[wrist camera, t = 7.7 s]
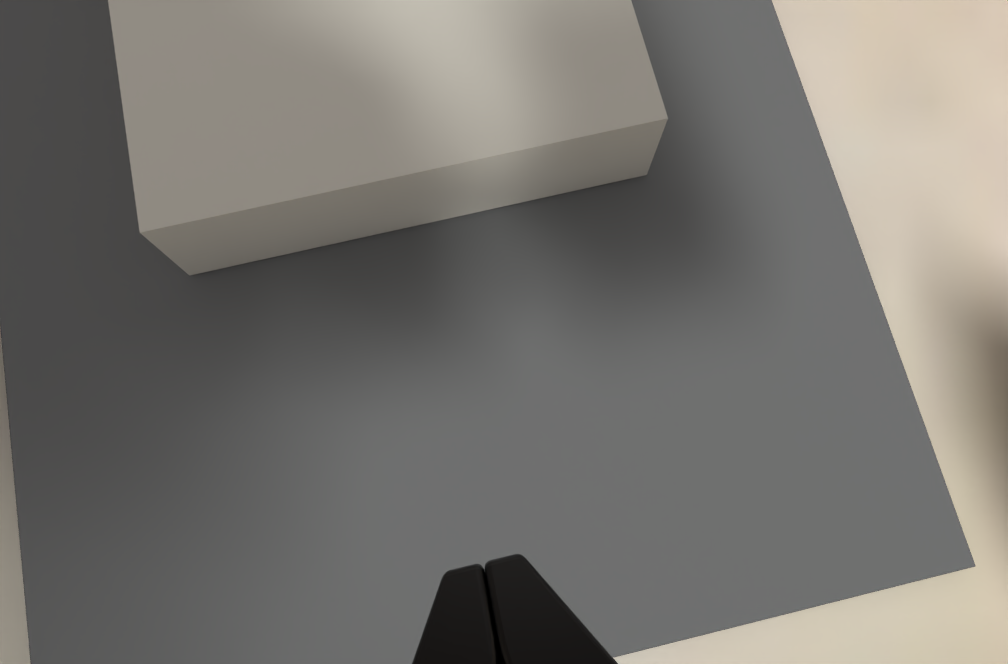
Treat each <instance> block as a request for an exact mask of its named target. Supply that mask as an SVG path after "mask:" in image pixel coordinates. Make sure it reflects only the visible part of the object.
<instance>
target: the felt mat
mask: <svg viewBox="0 0 1008 664" xmlns="http://www.w3.org/2000/svg"><path fill="white" fill-rule="evenodd" d="M631 1H632V4H633V8H634V11H635V14H636V17H637V20H638V24H639V27H640V30H641V33H642V36H643V40H644V43H645V46H646V49H647V52H648V56H649V59H650V62H651V65H652V68H653V71H654V75H655V78H656V81H657V84H658V87H659V91H660V94H661V97H662V100H663V103H664V107H665V110H666V113H667V116H668V120H667V123H666V125H665V128H664V130H663V133H662V136H661V138H660V141H659V144H658V146H657V149H656V152H655V154H654V157H653V160H652V162H651V165H650V168H649V170H648V173H647V175H644V176H640V177H635V178H631V179H626V180H621V181H617V182H612V183H608V184H603V185H599V186H594V187H590V188H585V189H581V190H576V191H571V192H567V193H562V194H558V195H553V196H549V197H544V198H540V199H535V200H531V201H526V202H521V203H517V204H512V205H508V206H503V207H499V208H494V209H490V210H485V211H481V212H476V213H471V214H467V215H462V216H458V217H453V218H449V219H444V220H440V221H435V222H431V223H426V224H421V225H417V226H412V227H408V228H403V229H399V230H394V231H390V232H385V233H381V234H376V235H372V236H367V237H362V238H358V239H353V240H349V241H344V242H340V243H335V244H331V245H326V246H322V247H317V248H312V249H308V250H303V251H299V252H294V253H290V254H285V255H281V256H276V257H272V258H267V259H262V260H258V261H253V262H249V263H244V264H240V265H235V266H231V267H226V268H222V269H217V270H212V271H208V272H203V273H199V274H194V275H190V276H189V275H188V274H187V273H186V272H185V271H184V270H182V269H181V268H180V267H179V266H178V265H177V264H176V263H174V262H173V261H172V260H171V259H170V258H169V257H167V256H166V255H165V254H164V253H163V252H162V251H160V250H159V249H158V248H157V247H156V246H155V245H153V244H152V243H151V242H150V241H149V240H148V239H146V238H145V237H144V236H143V235H142V234H141V233H140V231H139V224H138V217H137V209H136V202H135V195H134V187H133V180H132V173H131V165H130V158H129V151H128V143H127V136H126V129H125V121H124V114H123V107H122V99H121V92H120V85H119V77H118V70H117V63H116V55H115V48H114V41H113V33H112V26H111V19H110V11H109V4H108V0H0V327H1V338H2V349H3V360H4V371H5V382H6V393H7V404H8V415H9V427H10V438H11V449H12V460H13V471H14V482H15V493H16V504H17V515H18V527H19V538H20V549H21V560H22V571H23V582H24V593H25V604H26V615H27V626H28V638H29V649H30V660H31V664H412V662H413V659H414V656H415V653H416V650H417V648H418V645H419V642H420V639H421V636H422V633H423V630H424V627H425V625H426V622H427V619H428V616H429V613H430V610H431V607H432V604H433V602H434V599H435V596H436V593H437V590H438V587H439V584H440V581H441V579H442V577H443V575H444V574H445V573H446V572H447V571H449V570H452V569H456V568H460V567H464V566H468V565H473V564H480V565H482V566H483V568H484V570H485V564H486V563H487V562H488V561H489V560H493V559H497V558H501V557H505V556H509V555H514V554H521V555H523V556H524V557H525V558H526V559H527V560H528V561H529V562H530V563H531V564H532V566H533V567H534V568H535V569H536V570H537V571H538V572H539V574H540V575H541V576H542V577H543V578H544V579H545V580H546V582H547V583H548V584H549V585H550V586H551V587H552V588H553V590H554V591H555V592H556V593H557V594H558V595H559V597H560V598H561V599H562V600H563V601H564V602H565V603H566V605H567V606H568V607H569V608H570V609H571V610H572V611H573V613H574V614H575V615H576V616H577V617H578V618H579V619H580V621H581V622H582V623H583V624H584V625H585V626H586V628H587V629H588V630H589V631H590V632H591V633H592V634H593V636H594V637H595V638H596V639H597V640H598V641H599V642H600V644H601V645H602V646H603V647H604V648H605V649H606V650H607V652H608V653H609V654H610V655H611V656H612V657H617V656H621V655H625V654H629V653H633V652H637V651H641V650H645V649H649V648H653V647H657V646H661V645H665V644H669V643H673V642H677V641H681V640H685V639H689V638H693V637H697V636H701V635H705V634H709V633H713V632H717V631H721V630H725V629H729V628H733V627H736V626H740V625H744V624H748V623H752V622H756V621H760V620H764V619H768V618H772V617H776V616H780V615H784V614H788V613H792V612H796V611H800V610H804V609H808V608H812V607H816V606H820V605H824V604H828V603H832V602H836V601H840V600H844V599H848V598H852V597H856V596H859V595H863V594H867V593H871V592H875V591H879V590H883V589H887V588H891V587H895V586H899V585H903V584H907V583H911V582H915V581H919V580H923V579H927V578H931V577H935V576H939V575H943V574H947V573H951V572H955V571H959V570H963V569H967V568H971V567H975V563H974V561H973V558H972V555H971V552H970V550H969V547H968V544H967V541H966V538H965V536H964V533H963V530H962V527H961V525H960V522H959V519H958V516H957V513H956V511H955V508H954V505H953V502H952V500H951V497H950V494H949V491H948V489H947V486H946V483H945V480H944V477H943V475H942V472H941V469H940V466H939V464H938V461H937V458H936V455H935V452H934V450H933V447H932V444H931V441H930V439H929V436H928V433H927V430H926V427H925V425H924V422H923V419H922V416H921V414H920V411H919V408H918V405H917V403H916V400H915V397H914V394H913V391H912V389H911V386H910V383H909V380H908V378H907V375H906V372H905V369H904V366H903V364H902V361H901V358H900V355H899V353H898V350H897V347H896V344H895V341H894V339H893V336H892V333H891V330H890V328H889V325H888V322H887V319H886V317H885V314H884V311H883V308H882V305H881V303H880V300H879V297H878V294H877V292H876V289H875V286H874V283H873V280H872V278H871V275H870V272H869V269H868V267H867V264H866V261H865V258H864V255H863V253H862V250H861V247H860V244H859V242H858V239H857V236H856V233H855V231H854V228H853V225H852V222H851V219H850V217H849V214H848V211H847V208H846V206H845V203H844V200H843V197H842V194H841V192H840V189H839V186H838V183H837V181H836V178H835V175H834V172H833V170H832V167H831V164H830V161H829V158H828V156H827V153H826V150H825V147H824V145H823V142H822V139H821V136H820V133H819V131H818V128H817V125H816V122H815V120H814V117H813V114H812V111H811V108H810V106H809V103H808V100H807V97H806V95H805V92H804V89H803V86H802V84H801V81H800V78H799V75H798V72H797V70H796V67H795V64H794V61H793V59H792V56H791V53H790V50H789V47H788V45H787V42H786V39H785V36H784V34H783V31H782V28H781V25H780V22H779V20H778V17H777V14H776V11H775V9H774V6H773V3H772V0H631Z"/></svg>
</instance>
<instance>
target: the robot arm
mask: <svg viewBox="0 0 1008 664" xmlns="http://www.w3.org/2000/svg"><path fill="white" fill-rule="evenodd" d="M412 664H618V663H617V662H616V661H615V660H614V659H613V657H612V656H611V655H610V654H609V653H608V652H607V650H606V649H605V648H604V647H603V646H602V645H601V644H600V642H599V641H598V640H597V639H596V638H595V637H594V636H593V634H592V633H591V632H590V631H589V630H588V629H587V628H586V626H585V625H584V624H583V623H582V622H581V621H580V619H579V618H578V617H577V616H576V615H575V614H574V613H573V611H572V610H571V609H570V608H569V607H568V606H567V605H566V603H565V602H564V601H563V600H562V599H561V598H560V597H559V595H558V594H557V593H556V592H555V591H554V590H553V588H552V587H551V586H550V585H549V584H548V583H547V582H546V580H545V579H544V578H543V577H542V576H541V575H540V574H539V572H538V571H537V570H536V569H535V568H534V567H533V566H532V564H531V563H530V562H529V561H528V560H527V559H526V558H525V557H524V556H523V555H521V554H514V555H509V556H505V557H501V558H497V559H493V560H489V561H488V562H487V563H486V564H485V570H484V568H483V566H482V565H480V564H473V565H468V566H464V567H460V568H456V569H452V570H449V571H447V572H446V573H445V574H444V575H443V577H442V579H441V581H440V584H439V587H438V590H437V593H436V596H435V599H434V602H433V604H432V607H431V610H430V613H429V616H428V619H427V622H426V625H425V627H424V630H423V633H422V636H421V639H420V642H419V645H418V648H417V650H416V653H415V656H414V659H413V662H412Z"/></svg>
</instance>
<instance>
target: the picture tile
mask: <svg viewBox="0 0 1008 664" xmlns="http://www.w3.org/2000/svg"><path fill="white" fill-rule="evenodd" d="M108 4H109V11H110V19H111V26H112V33H113V41H114V48H115V55H116V63H117V70H118V77H119V85H120V92H121V99H122V107H123V114H124V121H125V129H126V136H127V143H128V151H129V158H130V165H131V173H132V180H133V187H134V195H135V202H136V209H137V217H138V224H139V231H140V233H141V234H142V235H143V236H144V237H145V238H146V239H148V240H149V241H150V242H151V243H152V244H153V245H155V246H156V247H157V248H158V249H159V250H160V251H162V252H163V253H164V254H165V255H166V256H167V257H169V258H170V259H171V260H172V261H173V262H174V263H176V264H177V265H178V266H179V267H180V268H181V269H182V270H184V271H185V272H186V273H187V274H188V275H189V276H190V275H194V274H199V273H203V272H208V271H212V270H217V269H222V268H226V267H231V266H235V265H240V264H244V263H249V262H253V261H258V260H262V259H267V258H272V257H276V256H281V255H285V254H290V253H294V252H299V251H303V250H308V249H312V248H317V247H322V246H326V245H331V244H335V243H340V242H344V241H349V240H353V239H358V238H362V237H367V236H372V235H376V234H381V233H385V232H390V231H394V230H399V229H403V228H408V227H412V226H417V225H421V224H426V223H431V222H435V221H440V220H444V219H449V218H453V217H458V216H462V215H467V214H471V213H476V212H481V211H485V210H490V209H494V208H499V207H503V206H508V205H512V204H517V203H521V202H526V201H531V200H535V199H540V198H544V197H549V196H553V195H558V194H562V193H567V192H571V191H576V190H581V189H585V188H590V187H594V186H599V185H603V184H608V183H612V182H617V181H621V180H626V179H631V178H635V177H640V176H644V175H647V173H648V170H649V168H650V165H651V162H652V160H653V157H654V154H655V152H656V149H657V146H658V144H659V141H660V138H661V136H662V133H663V130H664V128H665V125H666V123H667V120H668V116H667V113H666V110H665V107H664V103H663V100H662V97H661V94H660V91H659V87H658V84H657V81H656V78H655V75H654V71H653V68H652V65H651V62H650V59H649V56H648V52H647V49H646V46H645V43H644V40H643V36H642V33H641V30H640V27H639V24H638V20H637V17H636V14H635V11H634V8H633V4H632V1H631V0H108Z"/></svg>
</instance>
